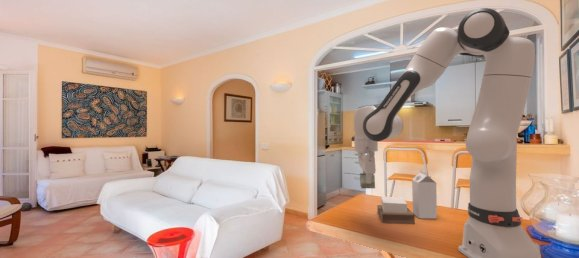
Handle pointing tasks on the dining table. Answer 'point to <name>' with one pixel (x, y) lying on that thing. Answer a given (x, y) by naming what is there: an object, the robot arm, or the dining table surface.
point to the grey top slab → (394, 205)
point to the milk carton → (424, 196)
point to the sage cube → (363, 181)
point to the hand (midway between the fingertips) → (367, 181)
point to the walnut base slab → (396, 217)
